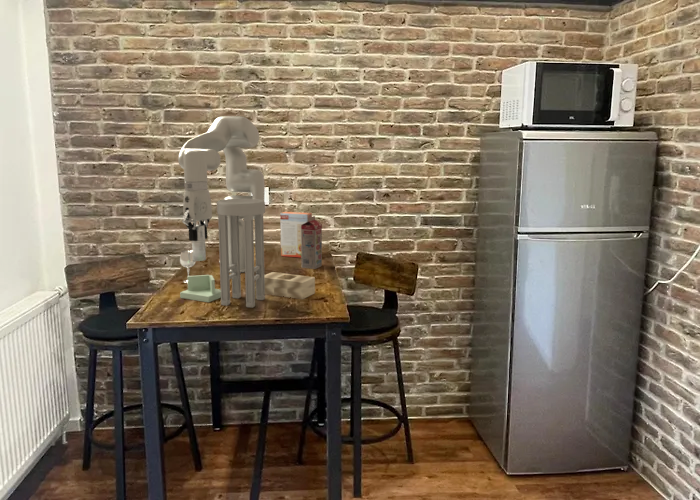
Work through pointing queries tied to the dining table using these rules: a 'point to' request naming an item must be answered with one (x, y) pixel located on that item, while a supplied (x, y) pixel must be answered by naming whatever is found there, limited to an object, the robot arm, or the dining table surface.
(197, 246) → the steel axle
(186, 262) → the wineglass
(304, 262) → the juice carton
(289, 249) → the cracker box
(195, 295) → the v-block
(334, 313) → the dining table surface
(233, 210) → the stool
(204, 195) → the robot arm
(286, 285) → the beige block with hole
